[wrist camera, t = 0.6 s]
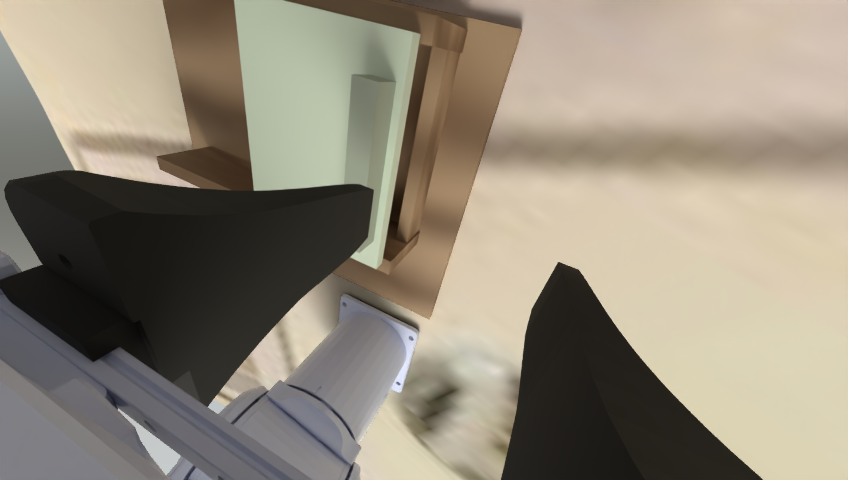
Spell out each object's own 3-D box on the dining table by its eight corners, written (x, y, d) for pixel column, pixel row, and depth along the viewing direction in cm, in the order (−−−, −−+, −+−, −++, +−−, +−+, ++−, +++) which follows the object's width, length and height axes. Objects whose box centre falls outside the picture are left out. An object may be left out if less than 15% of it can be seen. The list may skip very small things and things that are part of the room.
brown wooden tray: (431, 315, 25) (406, 358, 21) (210, 209, 31) (159, 228, 27) (521, 30, 15) (504, 13, 11) (160, -50, 20) (63, -81, 16)
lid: (381, 263, 18) (362, 282, 16) (265, 210, 20) (237, 222, 19) (420, 34, 12) (395, 27, 10) (246, -9, 14) (201, -21, 12)
